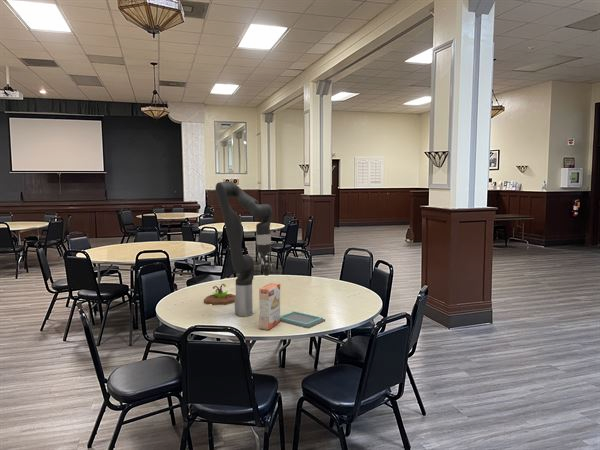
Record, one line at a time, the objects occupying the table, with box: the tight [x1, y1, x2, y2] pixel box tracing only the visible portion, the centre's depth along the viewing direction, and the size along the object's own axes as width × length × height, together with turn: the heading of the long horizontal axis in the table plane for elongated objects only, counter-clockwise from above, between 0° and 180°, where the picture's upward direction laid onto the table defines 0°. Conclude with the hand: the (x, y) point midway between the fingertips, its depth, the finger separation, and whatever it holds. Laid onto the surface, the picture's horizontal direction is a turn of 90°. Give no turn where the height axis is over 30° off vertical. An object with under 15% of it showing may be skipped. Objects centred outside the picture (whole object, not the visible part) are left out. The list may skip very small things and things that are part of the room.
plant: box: [203, 283, 236, 306], centre depth 271 cm, size 20×20×11 cm
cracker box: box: [258, 282, 281, 331], centre depth 222 cm, size 14×6×21 cm, turn 158°
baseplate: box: [280, 310, 326, 329], centre depth 231 cm, size 22×15×2 cm
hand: (265, 273), depth 225 cm, fingers open, 8 cm apart
